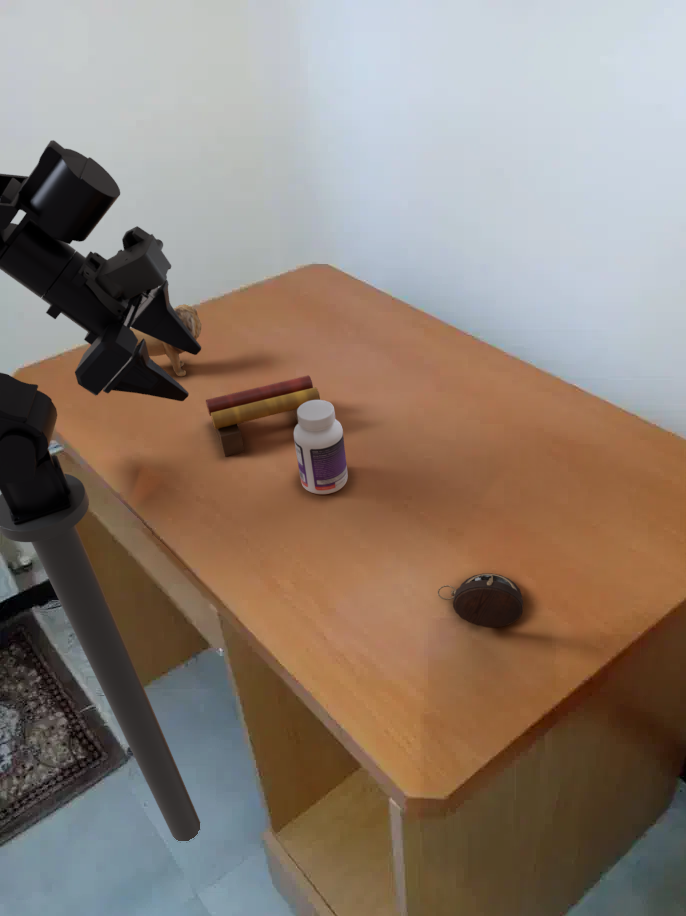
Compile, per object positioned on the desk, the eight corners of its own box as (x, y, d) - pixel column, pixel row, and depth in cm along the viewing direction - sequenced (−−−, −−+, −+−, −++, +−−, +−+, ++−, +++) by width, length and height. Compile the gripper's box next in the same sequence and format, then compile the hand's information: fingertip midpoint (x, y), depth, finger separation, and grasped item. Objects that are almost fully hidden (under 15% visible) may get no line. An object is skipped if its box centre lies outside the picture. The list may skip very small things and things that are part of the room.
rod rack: (222, 457, 94) (214, 423, 91) (210, 426, 99) (202, 392, 96) (326, 430, 98) (322, 396, 94) (309, 402, 102) (305, 368, 99)
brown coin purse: (522, 581, 77) (528, 526, 72) (519, 644, 72) (524, 589, 67) (441, 574, 79) (441, 520, 74) (431, 635, 73) (430, 581, 68)
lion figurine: (209, 354, 113) (196, 295, 107) (211, 373, 109) (197, 313, 103) (103, 370, 111) (84, 310, 105) (102, 389, 107) (81, 329, 101)
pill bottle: (356, 472, 91) (349, 401, 85) (334, 500, 88) (325, 428, 81) (315, 461, 93) (305, 391, 86) (292, 489, 89) (280, 417, 83)
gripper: (79, 257, 65) (230, 372, 73) (127, 179, 79) (249, 283, 87) (11, 343, 70) (160, 443, 78) (67, 256, 84) (188, 348, 92)
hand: (192, 373), depth 83 cm, fingers open, 9 cm apart
